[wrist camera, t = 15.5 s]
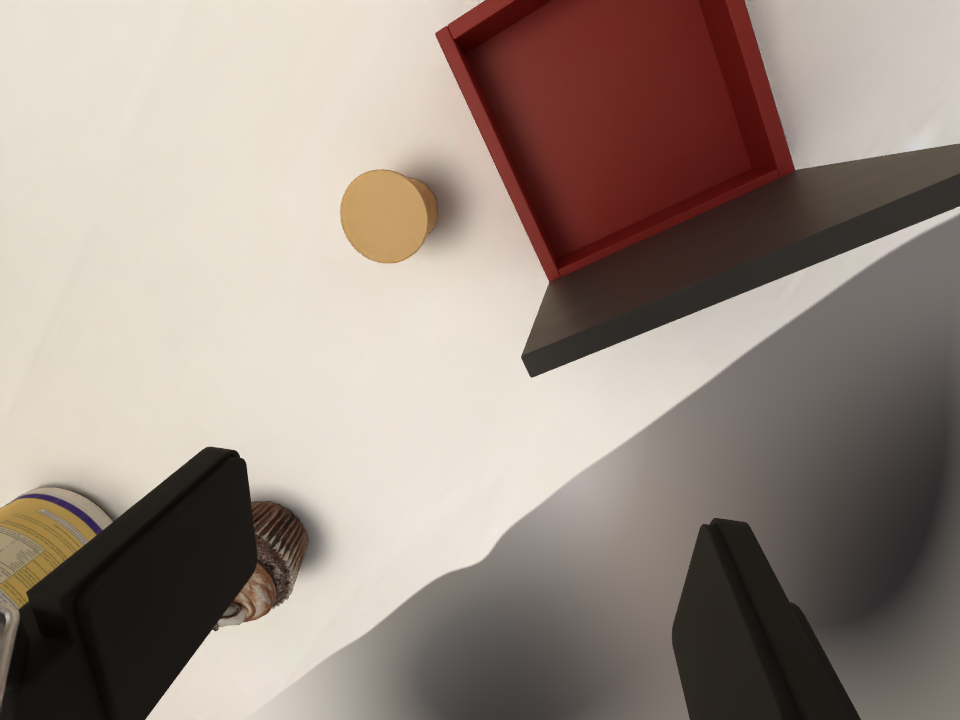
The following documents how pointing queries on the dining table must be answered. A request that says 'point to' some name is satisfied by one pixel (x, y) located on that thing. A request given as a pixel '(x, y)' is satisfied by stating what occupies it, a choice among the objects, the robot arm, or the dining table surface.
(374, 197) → the brass drawer pull
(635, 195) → the red open tray
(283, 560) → the cupcake
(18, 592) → the supplement tub
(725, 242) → the lid
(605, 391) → the dining table surface
